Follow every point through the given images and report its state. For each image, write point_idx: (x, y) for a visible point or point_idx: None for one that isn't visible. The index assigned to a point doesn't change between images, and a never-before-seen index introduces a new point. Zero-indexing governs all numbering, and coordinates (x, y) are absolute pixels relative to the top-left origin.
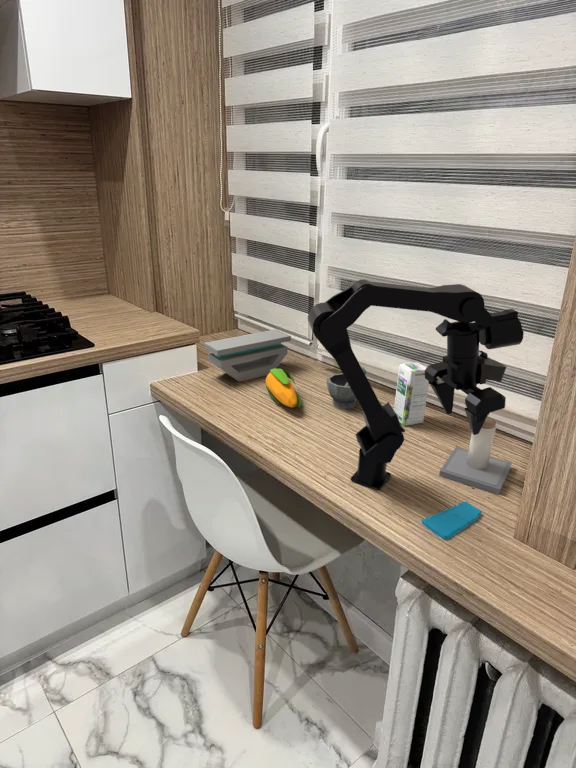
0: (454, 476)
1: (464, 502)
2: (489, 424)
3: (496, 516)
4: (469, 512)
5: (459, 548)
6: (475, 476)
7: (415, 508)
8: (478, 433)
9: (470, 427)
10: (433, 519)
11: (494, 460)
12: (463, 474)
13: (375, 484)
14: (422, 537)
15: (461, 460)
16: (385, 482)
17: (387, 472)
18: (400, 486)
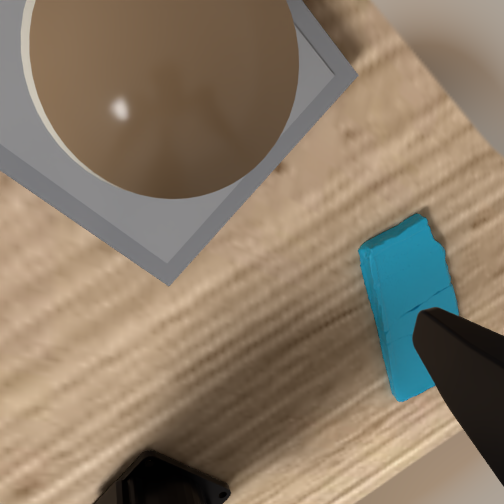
0: (214, 232)
1: (373, 259)
2: (278, 77)
3: (444, 166)
4: (419, 262)
5: (499, 331)
6: None
7: (334, 399)
8: (435, 308)
9: (462, 423)
10: (406, 373)
11: None
12: (217, 191)
13: (210, 502)
14: (438, 403)
15: None
16: (194, 470)
17: (138, 466)
18: (216, 424)
